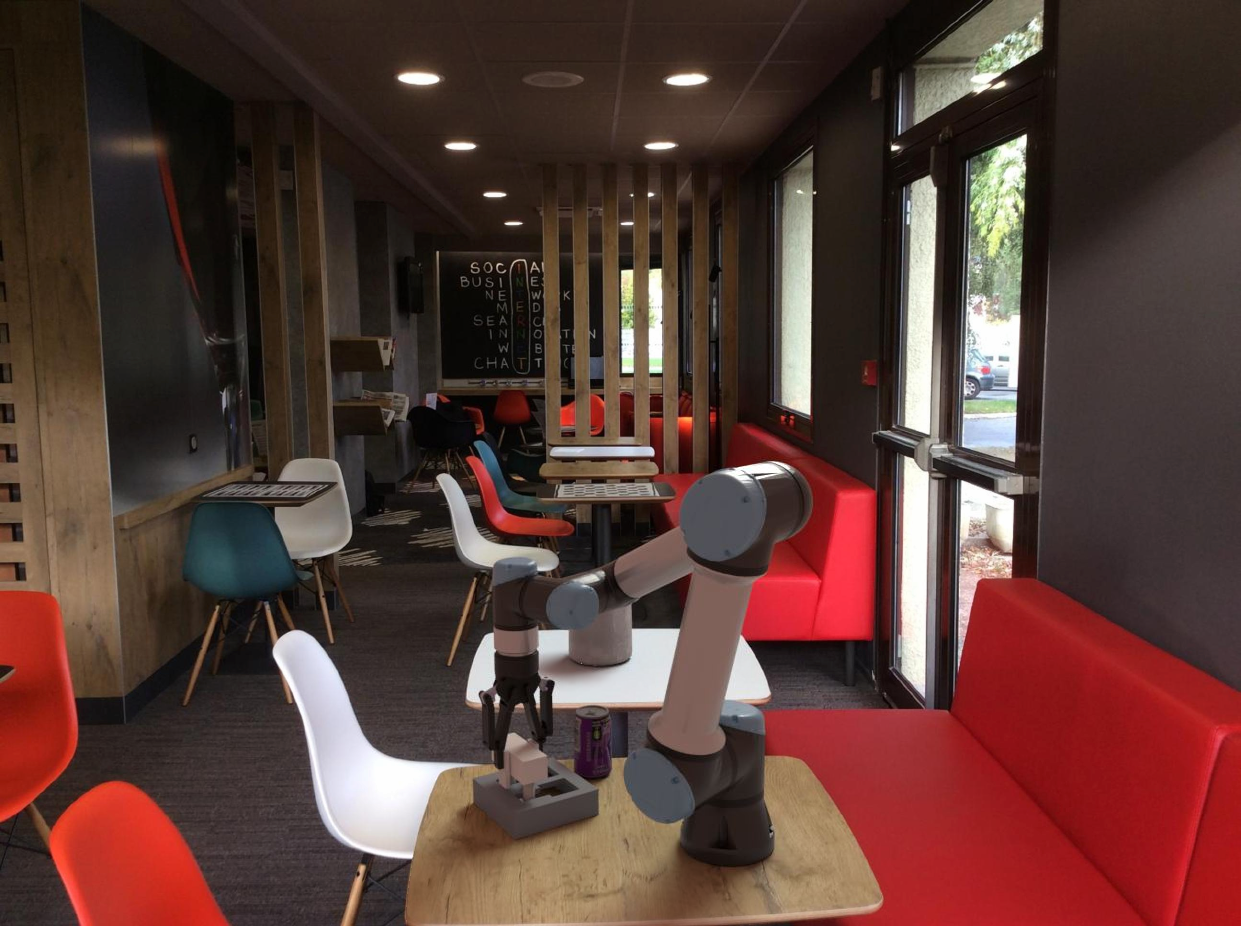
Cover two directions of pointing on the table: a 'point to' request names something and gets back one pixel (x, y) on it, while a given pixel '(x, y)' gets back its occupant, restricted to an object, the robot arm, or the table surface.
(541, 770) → the bar
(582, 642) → the planter
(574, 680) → the table surface
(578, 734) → the beverage can
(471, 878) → the table surface
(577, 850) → the table surface
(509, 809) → the keyhole board
